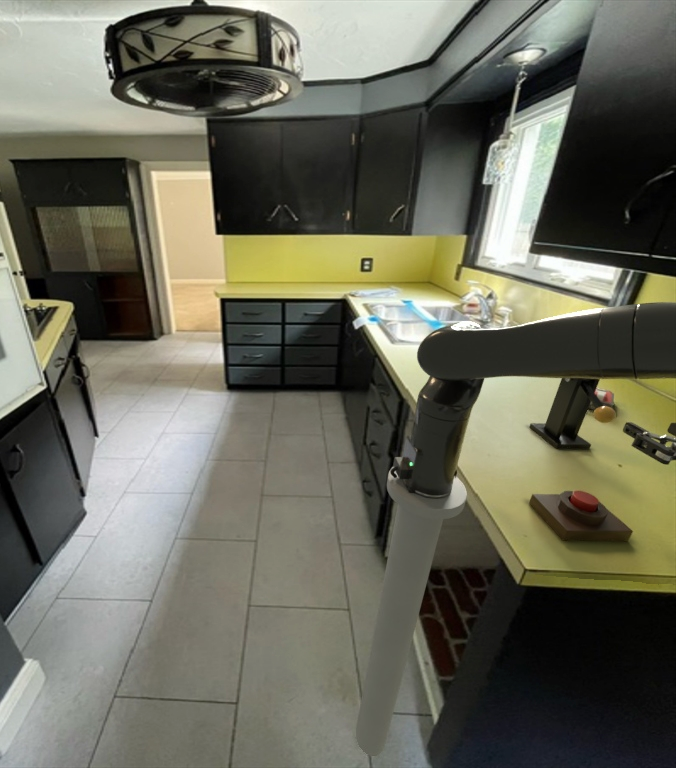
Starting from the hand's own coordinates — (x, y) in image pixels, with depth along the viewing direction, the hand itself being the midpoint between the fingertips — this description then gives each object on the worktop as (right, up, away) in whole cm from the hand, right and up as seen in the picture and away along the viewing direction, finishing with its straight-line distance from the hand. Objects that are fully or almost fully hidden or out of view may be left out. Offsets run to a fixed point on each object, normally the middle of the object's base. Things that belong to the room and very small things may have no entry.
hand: (648, 426), depth 69 cm
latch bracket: (0, -5, +22) cm, 23 cm away
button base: (-17, -16, -4) cm, 24 cm away
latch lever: (0, +4, +14) cm, 14 cm away
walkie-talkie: (+22, +1, +38) cm, 44 cm away
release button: (-17, -13, -5) cm, 22 cm away
